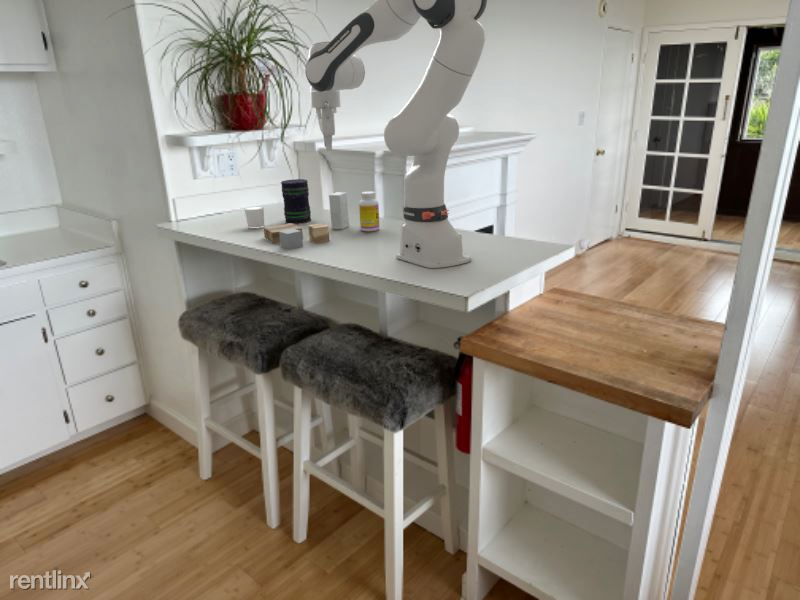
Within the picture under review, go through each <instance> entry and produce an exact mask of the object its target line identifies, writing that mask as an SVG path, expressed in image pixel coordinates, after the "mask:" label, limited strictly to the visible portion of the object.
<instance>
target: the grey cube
mask: <svg viewBox="0 0 800 600" xmlns="http://www.w3.org/2000/svg"><path fill="white" fill-rule="evenodd" d="M302 233H303V231H302V232H301V231H300V230H296V229H288V230H284V231H279V236H280V243H279V244H280V248H284V249H286V250H292V249H296V248H301V247H304V243H303V239H302Z"/></svg>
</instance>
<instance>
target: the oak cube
mask: <svg viewBox="0 0 800 600" xmlns="http://www.w3.org/2000/svg"><path fill="white" fill-rule="evenodd" d="M329 230H330V228H329V225H327V224H325V223H323V222H322V223H316V224H309V225H308V235H309V241H310V242H312V243H313V244H320V243H326V242H330V231H329Z"/></svg>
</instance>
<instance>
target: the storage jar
mask: <svg viewBox="0 0 800 600" xmlns="http://www.w3.org/2000/svg"><path fill="white" fill-rule="evenodd" d="M308 183H309V182H308V179H301V178H300V179H296V178H295V179H286V180H282V181H281V182H280V184H281V196H282V197H283V211H284V212H283V213H284V219H285V224H288V223H293V224H295V225H300V223H301V224H307V223H310V222H311V221H312V219H311V206H310V201H309V196H310V192H309V191H310V190H309V184H308Z"/></svg>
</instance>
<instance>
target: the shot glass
mask: <svg viewBox="0 0 800 600" xmlns="http://www.w3.org/2000/svg"><path fill="white" fill-rule="evenodd" d="M264 210H265V208H264V206H249V207H245V208H244V209H243V211H244V212H245V213H244V214H245V217H246V219H245V220H246V224H247V227H248V226H249V227H261V226H264V227H265V211H264ZM249 227H248V228H249Z"/></svg>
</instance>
